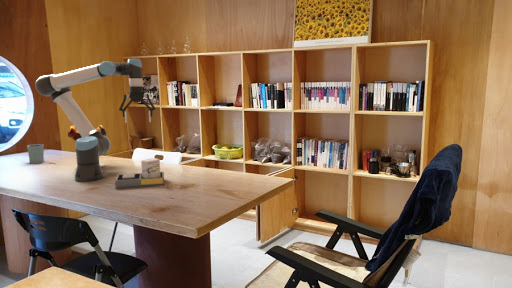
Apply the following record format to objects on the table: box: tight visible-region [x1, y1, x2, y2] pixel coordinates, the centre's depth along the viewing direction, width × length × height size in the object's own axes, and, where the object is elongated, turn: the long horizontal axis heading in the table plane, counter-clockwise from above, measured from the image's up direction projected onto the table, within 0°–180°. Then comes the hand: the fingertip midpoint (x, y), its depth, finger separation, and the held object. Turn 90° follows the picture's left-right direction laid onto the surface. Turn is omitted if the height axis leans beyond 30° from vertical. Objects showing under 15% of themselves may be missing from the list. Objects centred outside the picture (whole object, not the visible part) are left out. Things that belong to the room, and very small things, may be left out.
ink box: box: [140, 157, 161, 179], centre depth 211 cm, size 8×5×12 cm, turn 137°
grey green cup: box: [26, 143, 45, 165], centre depth 271 cm, size 10×10×12 cm
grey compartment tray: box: [114, 171, 165, 190], centre depth 210 cm, size 24×14×5 cm, turn 104°
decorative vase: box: [67, 124, 107, 170], centre depth 254 cm, size 21×23×28 cm
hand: (138, 122), depth 232 cm, fingers open, 13 cm apart
